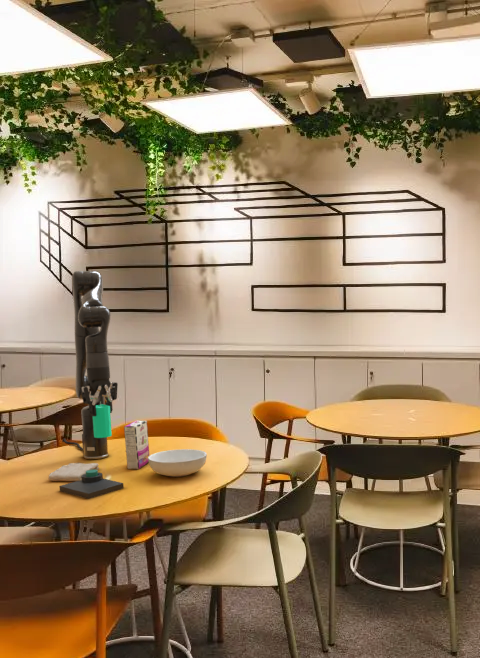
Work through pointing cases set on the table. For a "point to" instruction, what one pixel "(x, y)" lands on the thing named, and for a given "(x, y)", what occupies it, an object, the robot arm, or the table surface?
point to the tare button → (91, 473)
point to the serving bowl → (177, 462)
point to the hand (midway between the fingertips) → (101, 414)
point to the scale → (91, 486)
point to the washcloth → (72, 472)
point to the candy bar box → (136, 444)
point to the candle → (102, 422)
